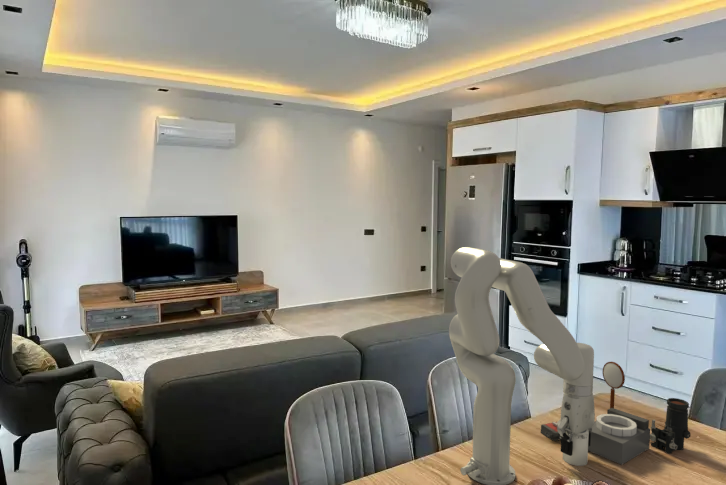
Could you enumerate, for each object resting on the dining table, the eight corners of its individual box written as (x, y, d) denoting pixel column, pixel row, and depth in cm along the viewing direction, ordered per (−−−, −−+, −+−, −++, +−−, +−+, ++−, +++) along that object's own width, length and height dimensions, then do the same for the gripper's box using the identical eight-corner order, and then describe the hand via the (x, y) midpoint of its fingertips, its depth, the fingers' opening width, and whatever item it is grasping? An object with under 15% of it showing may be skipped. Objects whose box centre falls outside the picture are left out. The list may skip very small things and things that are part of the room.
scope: (650, 399, 147) (673, 394, 151) (647, 444, 148) (671, 438, 152) (676, 409, 140) (700, 404, 144) (674, 457, 141) (697, 450, 145)
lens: (579, 468, 135) (580, 435, 134) (557, 458, 140) (559, 427, 139) (592, 461, 138) (593, 429, 138) (570, 451, 144) (572, 421, 143)
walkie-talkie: (555, 446, 148) (607, 435, 155) (556, 431, 147) (608, 421, 154) (535, 433, 156) (585, 423, 163) (536, 419, 156) (586, 410, 163)
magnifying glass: (623, 426, 160) (626, 365, 159) (619, 427, 160) (622, 366, 158) (603, 415, 168) (605, 358, 167) (599, 416, 168) (601, 358, 166)
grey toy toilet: (621, 464, 137) (623, 435, 136) (580, 447, 146) (581, 419, 146) (649, 448, 146) (650, 420, 145) (609, 433, 156) (610, 407, 155)
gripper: (572, 399, 130) (570, 464, 131) (607, 385, 140) (605, 445, 141) (547, 391, 136) (545, 452, 137) (582, 378, 146) (580, 435, 147)
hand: (575, 448), depth 139 cm, fingers open, 8 cm apart
